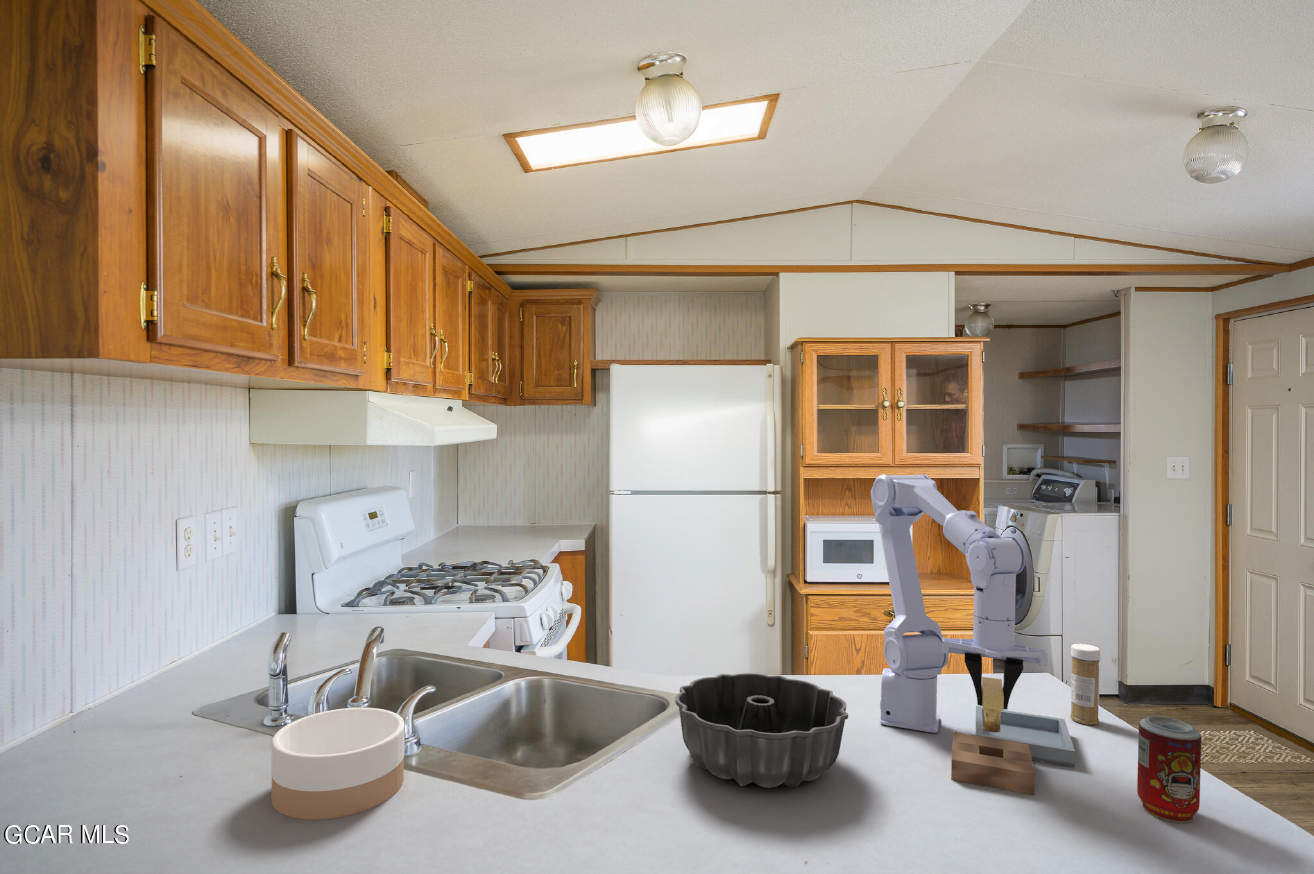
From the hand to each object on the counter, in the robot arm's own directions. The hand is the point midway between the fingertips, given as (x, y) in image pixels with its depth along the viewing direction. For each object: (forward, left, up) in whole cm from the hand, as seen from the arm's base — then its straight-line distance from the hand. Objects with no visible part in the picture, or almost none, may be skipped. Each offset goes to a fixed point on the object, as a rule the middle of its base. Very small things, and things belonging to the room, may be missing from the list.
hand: (992, 705), depth 112 cm
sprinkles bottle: (+16, +29, -10) cm, 35 cm away
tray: (+5, +14, -10) cm, 18 cm away
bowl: (-85, -45, -10) cm, 97 cm away
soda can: (+22, -3, -10) cm, 24 cm away
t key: (0, 0, -4) cm, 4 cm away
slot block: (0, 0, -10) cm, 10 cm away
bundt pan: (-33, -12, -10) cm, 37 cm away
